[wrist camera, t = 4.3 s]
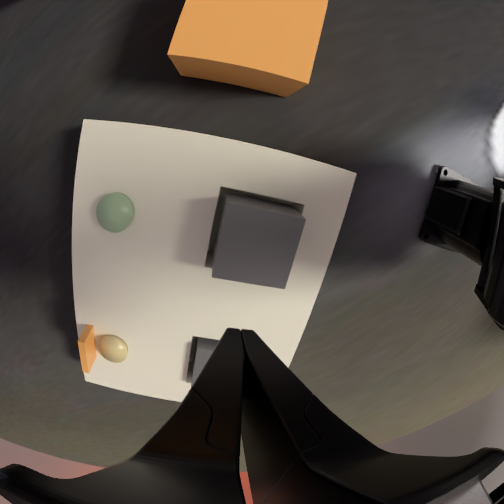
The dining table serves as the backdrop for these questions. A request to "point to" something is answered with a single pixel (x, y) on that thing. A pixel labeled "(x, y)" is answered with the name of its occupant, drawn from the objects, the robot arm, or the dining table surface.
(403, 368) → the dining table surface
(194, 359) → the grey square block
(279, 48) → the orange square block
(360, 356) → the dining table surface
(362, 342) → the dining table surface
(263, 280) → the block
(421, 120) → the dining table surface
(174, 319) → the panel
